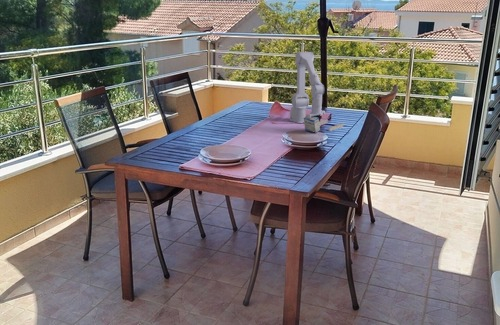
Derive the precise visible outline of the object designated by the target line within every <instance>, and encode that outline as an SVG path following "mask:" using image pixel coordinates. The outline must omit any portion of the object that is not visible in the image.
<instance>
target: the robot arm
mask: <svg viewBox="0 0 500 325" xmlns="http://www.w3.org/2000/svg"><path fill="white" fill-rule="evenodd" d="M294 58H295V59H294V60H295V62H294V63H295V64H294V65H295V66H296V92H295V93H294V94H292V99H291V105H292V107H291V108H290V111H289V119H288V121H290V122H293V123H297V124H303V122H304V118H305V117H306V116H307V118H311V117H313V116H314V117H318V118H319V122H320V121H321V119H322V115H325V114H326V111H325V110H322V107H323V106H322V105H323V95H324V94H325V85H324V84H323V83H322V82H321V80H320V76H319V74H318V73H316V71H315V70H316V69H315V65H314V60H315V56H314V53H313V51H297V52H296V54H295V57H294ZM306 70H307V72H308V75H309V76H308V81H309V83H310V84H309V85H310V86H311V88H310V94H311V111H310V112H309V113H307V114H306V111H307V110H306V109H307V108H308V107H309V105H310V99H309V98H310V97H309V95H308V94H307V93H306Z"/></svg>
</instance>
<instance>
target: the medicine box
mask: <svg viewBox="0 0 500 325" xmlns="http://www.w3.org/2000/svg"><path fill="white" fill-rule="evenodd" d="M319 122H320V121H319V118H318V117H314V116H313V117H311V118H307V115H305V118H304V124H303V126H304V130H306V131H305V132H309V131H314V132H317V133H318V132H319V131H320V130H321V127H320V126H321V125H319Z"/></svg>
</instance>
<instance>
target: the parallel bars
mask: <svg viewBox="0 0 500 325" xmlns="http://www.w3.org/2000/svg"><path fill="white" fill-rule="evenodd" d="M328 121H329V120H328V119H323V120H320V121H319V126H323V125H325V124H328ZM341 128H344V123H343V122H342V123H339V124H336V125H332V126H329V127H328V132H331V131H334V130H337V129H341Z"/></svg>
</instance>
